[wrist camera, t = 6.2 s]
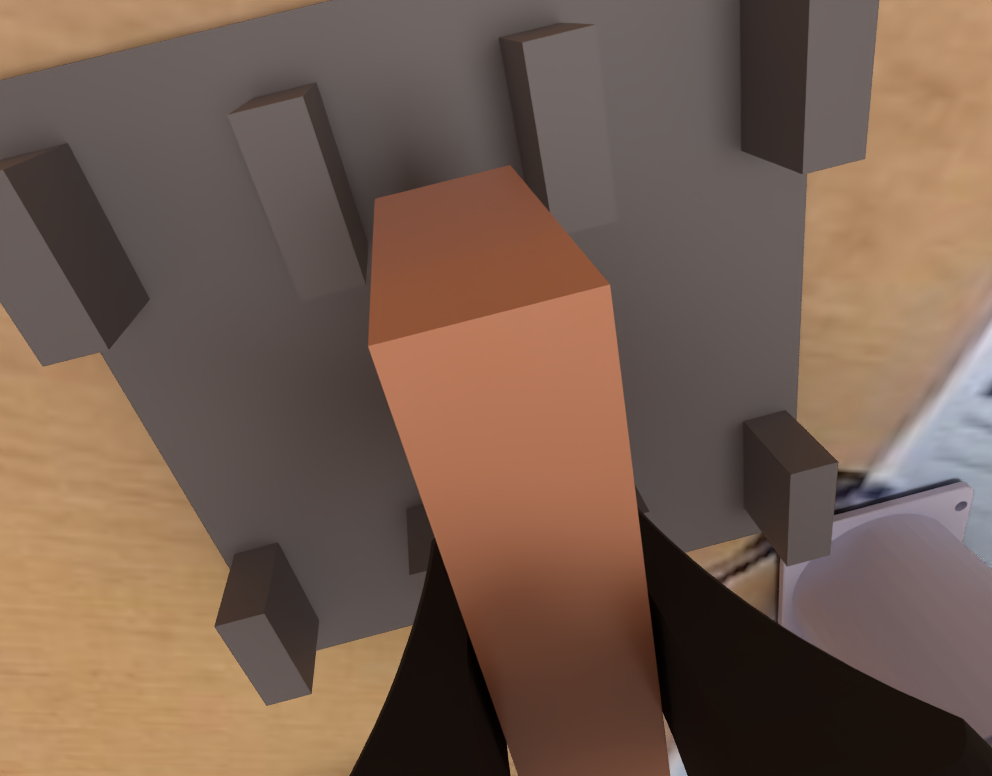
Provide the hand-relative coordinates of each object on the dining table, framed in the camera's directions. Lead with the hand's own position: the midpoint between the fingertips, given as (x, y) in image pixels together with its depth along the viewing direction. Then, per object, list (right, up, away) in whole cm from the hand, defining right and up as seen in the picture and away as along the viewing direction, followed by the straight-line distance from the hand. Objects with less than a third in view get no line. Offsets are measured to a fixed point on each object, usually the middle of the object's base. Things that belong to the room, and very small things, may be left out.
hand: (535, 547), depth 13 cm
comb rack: (-1, +4, +7) cm, 9 cm away
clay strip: (0, +1, +2) cm, 3 cm away
